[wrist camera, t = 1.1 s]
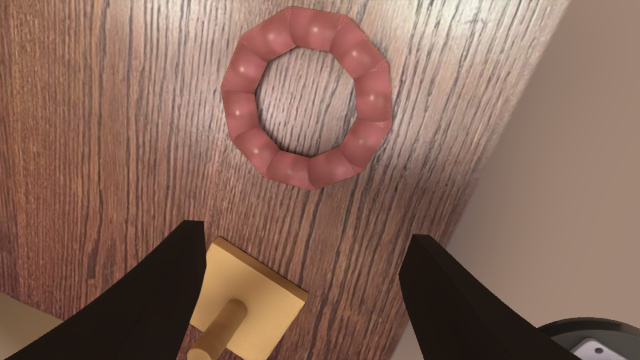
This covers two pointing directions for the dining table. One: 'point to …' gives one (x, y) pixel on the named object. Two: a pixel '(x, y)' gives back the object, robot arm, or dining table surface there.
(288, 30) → the ring
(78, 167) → the dining table surface
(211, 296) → the stand
